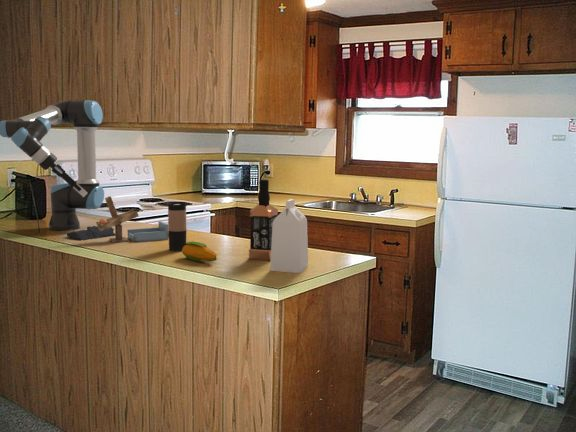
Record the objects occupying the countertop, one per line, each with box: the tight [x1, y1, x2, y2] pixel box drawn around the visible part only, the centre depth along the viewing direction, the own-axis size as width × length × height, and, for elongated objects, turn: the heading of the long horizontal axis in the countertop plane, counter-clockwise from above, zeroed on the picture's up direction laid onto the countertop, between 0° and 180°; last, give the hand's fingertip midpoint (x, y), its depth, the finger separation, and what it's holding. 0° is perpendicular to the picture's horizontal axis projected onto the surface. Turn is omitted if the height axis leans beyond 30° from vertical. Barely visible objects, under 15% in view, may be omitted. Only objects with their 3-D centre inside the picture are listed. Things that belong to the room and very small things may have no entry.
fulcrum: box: [109, 223, 129, 244], centre depth 284 cm, size 7×7×8 cm
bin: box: [127, 220, 169, 243], centre depth 290 cm, size 16×12×7 cm
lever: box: [95, 196, 140, 231], centre depth 282 cm, size 18×9×12 cm, turn 118°
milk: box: [269, 198, 309, 274], centre depth 231 cm, size 12×12×26 cm
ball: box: [98, 218, 107, 224], centre depth 280 cm, size 4×4×4 cm
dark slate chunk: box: [66, 225, 115, 241], centre depth 296 cm, size 15×22×5 cm
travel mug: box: [167, 202, 187, 252], centre depth 264 cm, size 8×8×20 cm
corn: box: [181, 241, 218, 263], centre depth 244 cm, size 7×8×20 cm
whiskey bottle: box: [248, 178, 279, 262], centre depth 249 cm, size 10×10×32 cm
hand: (85, 194), depth 277 cm, fingers closed
